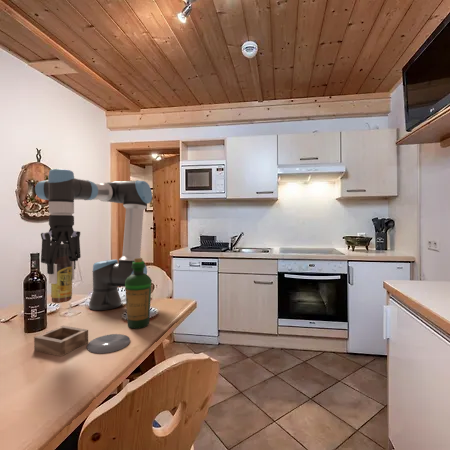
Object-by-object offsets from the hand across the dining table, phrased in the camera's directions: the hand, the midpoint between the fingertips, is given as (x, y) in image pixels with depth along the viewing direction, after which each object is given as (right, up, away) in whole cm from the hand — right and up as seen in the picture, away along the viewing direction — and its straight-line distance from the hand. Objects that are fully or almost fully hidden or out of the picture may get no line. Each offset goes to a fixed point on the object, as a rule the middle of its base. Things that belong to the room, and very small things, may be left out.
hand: (62, 281), depth 96 cm
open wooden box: (0, -23, 0) cm, 23 cm away
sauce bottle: (0, -7, 0) cm, 7 cm away
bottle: (+20, -23, +20) cm, 36 cm away
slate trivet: (+15, -23, +2) cm, 28 cm away
